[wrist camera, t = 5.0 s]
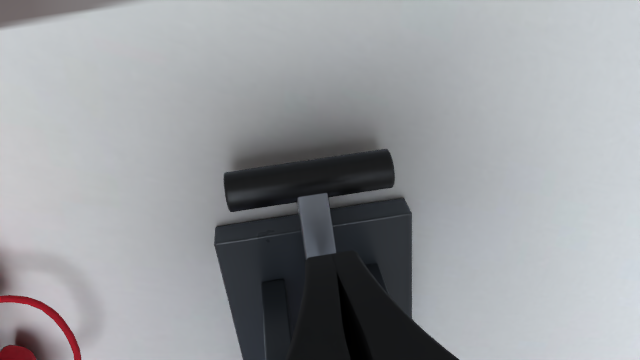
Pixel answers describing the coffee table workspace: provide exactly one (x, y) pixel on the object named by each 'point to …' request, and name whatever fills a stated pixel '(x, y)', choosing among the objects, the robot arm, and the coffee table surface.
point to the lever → (310, 190)
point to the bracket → (289, 268)
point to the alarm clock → (16, 356)
